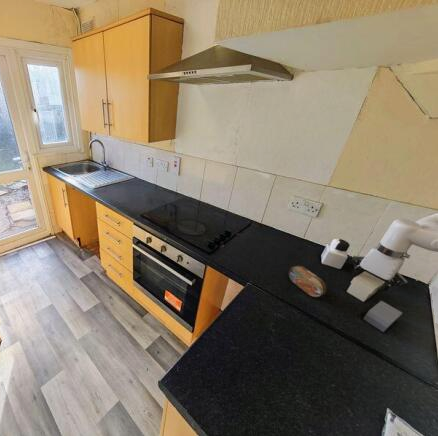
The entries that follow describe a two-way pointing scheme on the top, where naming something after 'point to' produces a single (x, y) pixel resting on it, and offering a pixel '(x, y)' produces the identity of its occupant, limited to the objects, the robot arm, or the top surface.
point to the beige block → (359, 292)
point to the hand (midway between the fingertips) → (367, 283)
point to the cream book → (367, 282)
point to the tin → (307, 281)
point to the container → (335, 253)
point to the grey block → (382, 316)
